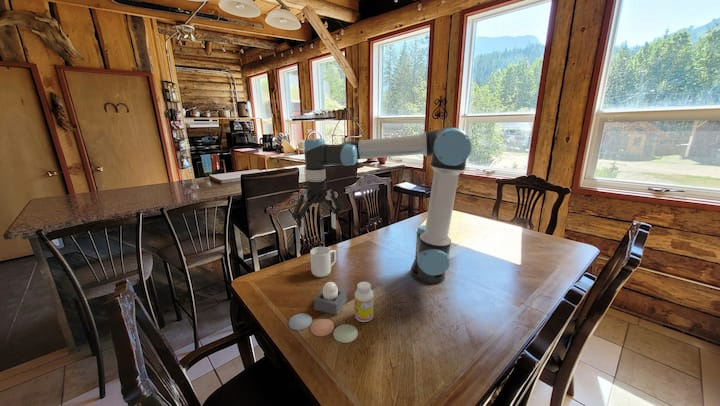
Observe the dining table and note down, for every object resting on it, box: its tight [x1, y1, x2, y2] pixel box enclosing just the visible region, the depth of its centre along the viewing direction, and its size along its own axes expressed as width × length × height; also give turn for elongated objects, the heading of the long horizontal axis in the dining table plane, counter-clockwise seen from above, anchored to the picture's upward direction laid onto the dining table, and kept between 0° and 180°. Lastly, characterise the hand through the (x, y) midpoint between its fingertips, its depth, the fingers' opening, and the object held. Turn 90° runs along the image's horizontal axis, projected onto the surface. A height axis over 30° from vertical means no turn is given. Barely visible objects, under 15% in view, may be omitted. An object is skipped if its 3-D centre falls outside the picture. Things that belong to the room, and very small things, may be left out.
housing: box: [313, 288, 347, 316], centre depth 107 cm, size 9×9×4 cm
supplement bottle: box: [354, 281, 375, 323], centre depth 100 cm, size 7×7×13 cm
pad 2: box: [309, 318, 335, 337], centre depth 96 cm, size 8×8×1 cm
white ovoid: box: [322, 281, 339, 301], centre depth 106 cm, size 6×6×7 cm
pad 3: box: [332, 323, 359, 344], centre depth 94 cm, size 8×8×1 cm
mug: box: [310, 246, 337, 278], centre depth 130 cm, size 12×9×11 cm
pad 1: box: [288, 313, 313, 331], centre depth 99 cm, size 8×8×1 cm
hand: (318, 231), depth 116 cm, fingers open, 13 cm apart
